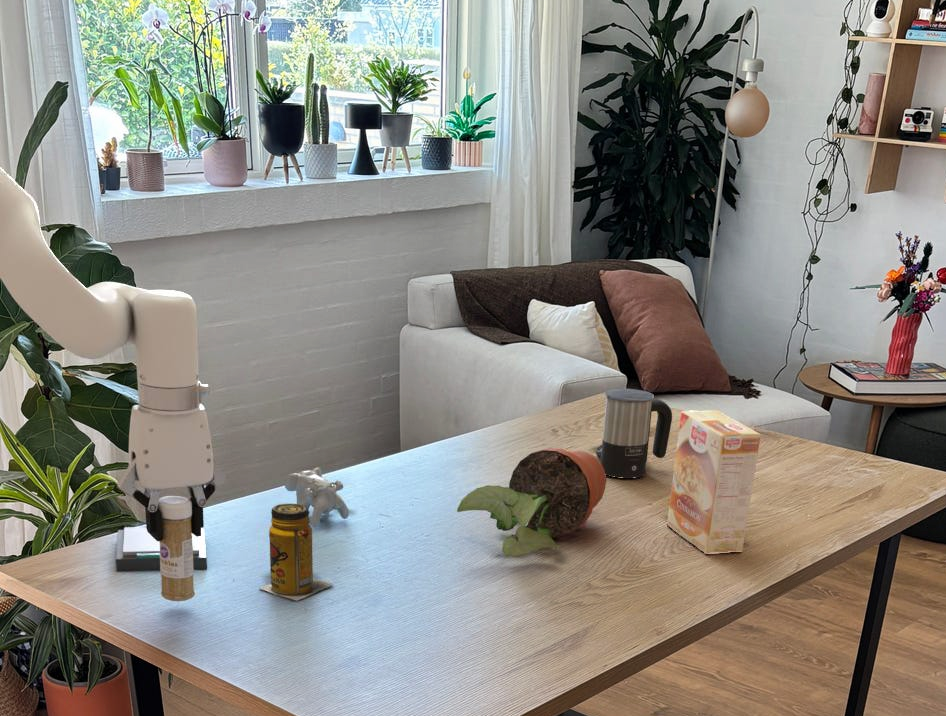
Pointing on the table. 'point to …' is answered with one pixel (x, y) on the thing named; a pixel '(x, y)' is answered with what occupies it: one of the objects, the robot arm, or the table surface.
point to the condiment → (292, 553)
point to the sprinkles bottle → (176, 548)
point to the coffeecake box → (713, 480)
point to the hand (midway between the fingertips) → (175, 534)
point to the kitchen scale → (150, 550)
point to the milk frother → (632, 431)
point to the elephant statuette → (317, 494)
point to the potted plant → (542, 498)
